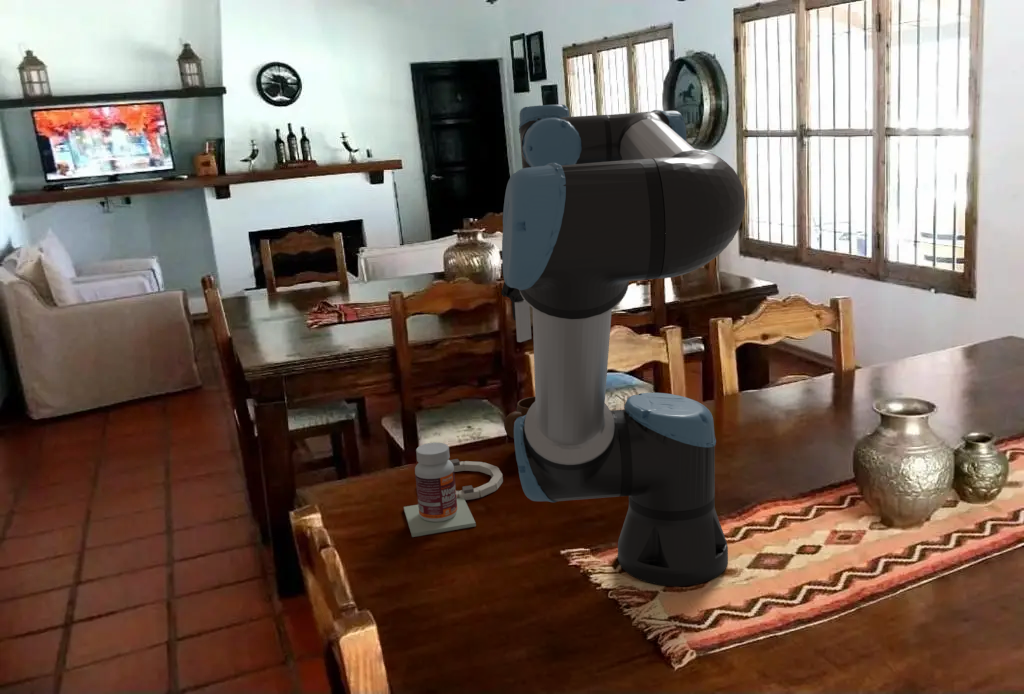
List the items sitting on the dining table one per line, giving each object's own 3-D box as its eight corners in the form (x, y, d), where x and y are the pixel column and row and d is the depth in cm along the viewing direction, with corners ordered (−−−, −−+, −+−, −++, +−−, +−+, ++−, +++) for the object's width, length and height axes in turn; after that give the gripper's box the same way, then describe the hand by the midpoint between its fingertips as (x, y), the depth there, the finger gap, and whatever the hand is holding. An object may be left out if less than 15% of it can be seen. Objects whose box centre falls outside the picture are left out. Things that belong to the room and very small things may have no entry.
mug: (522, 467, 156) (519, 418, 154) (493, 457, 162) (490, 410, 159) (567, 447, 164) (565, 400, 162) (538, 439, 170) (536, 393, 167)
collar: (510, 492, 146) (509, 483, 146) (428, 506, 143) (427, 496, 143) (491, 462, 159) (491, 453, 159) (416, 474, 156) (415, 465, 156)
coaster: (475, 526, 135) (475, 522, 135) (412, 537, 133) (411, 533, 133) (463, 500, 144) (463, 497, 144) (403, 510, 142) (403, 506, 142)
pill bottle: (450, 524, 135) (445, 456, 132) (413, 522, 136) (407, 455, 134) (462, 507, 141) (457, 441, 138) (426, 505, 142) (420, 440, 139)
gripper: (631, 208, 126) (635, 349, 132) (506, 206, 143) (514, 331, 148) (600, 214, 121) (606, 360, 126) (473, 211, 138) (483, 341, 143)
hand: (556, 345), depth 137 cm, fingers open, 13 cm apart
